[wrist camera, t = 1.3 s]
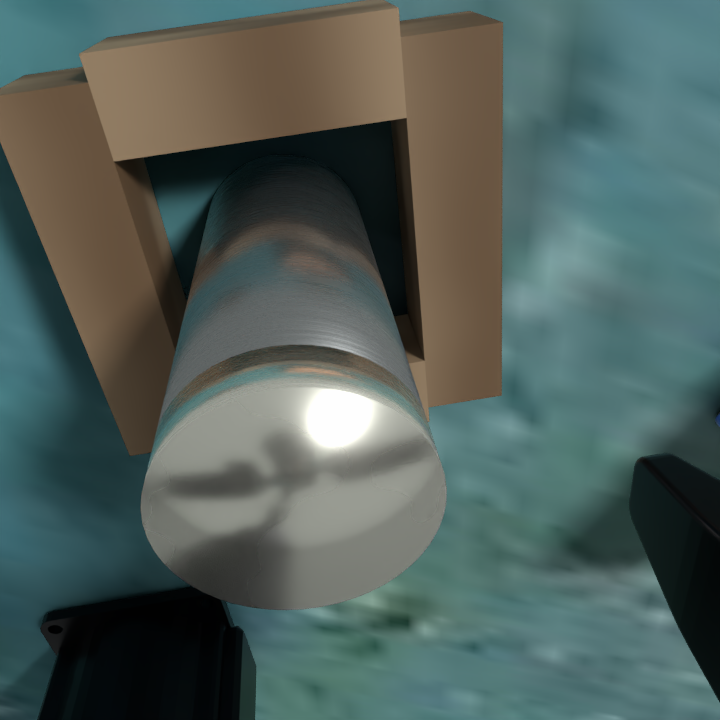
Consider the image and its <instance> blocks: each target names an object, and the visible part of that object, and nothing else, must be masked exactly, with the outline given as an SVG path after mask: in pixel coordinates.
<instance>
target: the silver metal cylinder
mask: <svg viewBox="0 0 720 720" xmlns="http://www.w3.org/2000/svg"><path fill="white" fill-rule="evenodd" d="M446 492H447V487H446V481H445V474H444V471H443V468H442V465H441V462H440V459H439V455H438V452H437V449H436V446H435V443H434V440H433V437H432V434H431V431H430V428H429V424H428V421H427V418H426V415H425V412H424V409H423V406H422V403H421V400H420V397H419V393H418V390H417V387H416V384H415V381H414V378H413V375H412V372H411V369H410V366H409V363H408V359H407V356H406V353H405V350H404V347H403V344H402V341H401V338H400V335H399V332H398V328H397V325H396V322H395V319H394V316H393V313H392V310H391V307H390V304H389V301H388V297H387V294H386V291H385V288H384V285H383V282H382V279H381V276H380V273H379V270H378V266H377V263H376V260H375V257H374V254H373V251H372V248H371V245H370V242H369V239H368V235H367V232H366V229H365V226H364V223H363V220H362V217H361V214H360V211H359V208H358V205H357V202H356V200H355V198H354V196H353V194H352V192H351V191H350V189H349V188H348V186H347V185H346V183H345V182H344V181H343V180H342V179H341V178H340V177H339V176H338V175H337V174H336V173H334V172H333V171H332V170H331V169H329V168H328V167H326V166H325V165H323V164H321V163H319V162H317V161H315V160H312V159H309V158H306V157H302V156H297V155H289V154H278V155H269V156H264V157H260V158H257V159H255V160H252V161H250V162H248V163H246V164H244V165H242V166H240V167H239V168H238V169H236V170H235V171H233V172H232V173H231V174H230V175H229V176H228V177H227V178H226V179H225V180H224V181H223V183H222V184H221V185H220V187H219V188H218V190H217V192H216V193H215V195H214V197H213V200H212V202H211V205H210V209H209V213H208V217H207V221H206V225H205V230H204V234H203V238H202V242H201V246H200V251H199V255H198V259H197V263H196V267H195V272H194V276H193V280H192V284H191V288H190V292H189V297H188V301H187V305H186V309H185V313H184V318H183V322H182V326H181V330H180V334H179V339H178V343H177V347H176V351H175V355H174V360H173V364H172V368H171V372H170V376H169V381H168V385H167V389H166V393H165V397H164V401H163V406H162V410H161V414H160V418H159V422H158V427H157V431H156V435H155V439H154V443H153V448H152V452H151V456H150V460H149V464H148V469H147V473H146V477H145V481H144V485H143V490H142V494H141V516H142V523H143V527H144V530H145V533H146V536H147V539H148V540H149V542H150V544H151V546H152V548H153V550H154V551H155V553H156V554H157V555H158V557H159V558H160V559H161V561H162V562H163V563H164V564H165V565H166V566H167V567H168V568H169V569H170V570H171V571H172V572H173V573H174V574H175V575H177V576H178V577H179V578H181V579H182V580H183V581H185V582H186V583H187V584H189V585H191V586H193V587H194V588H196V589H198V590H200V591H201V592H204V593H206V594H208V595H211V596H213V597H215V598H218V599H221V600H224V601H227V602H230V603H234V604H238V605H243V606H247V607H253V608H261V609H273V610H296V609H308V608H316V607H322V606H327V605H332V604H336V603H340V602H343V601H347V600H350V599H353V598H356V597H358V596H361V595H363V594H366V593H368V592H371V591H372V590H374V589H376V588H378V587H380V586H382V585H384V584H386V583H387V582H389V581H390V580H392V579H394V578H395V577H397V576H398V575H400V574H401V573H402V572H403V571H404V570H406V569H407V568H408V567H409V566H411V565H412V564H413V563H414V562H415V561H416V560H417V559H418V558H419V557H420V556H421V555H422V553H423V552H424V551H425V549H426V548H427V547H428V546H429V544H430V543H431V541H432V540H433V538H434V536H435V534H436V533H437V531H438V529H439V526H440V524H441V521H442V518H443V515H444V511H445V506H446Z"/></svg>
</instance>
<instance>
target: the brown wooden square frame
mask: <svg viewBox="0 0 720 720" xmlns="http://www.w3.org/2000/svg"><path fill="white" fill-rule="evenodd" d="M79 56H80V59H81V62H82V65H83V67H79V68H72V69H65V70H58V71H52V72H45V73H38V74H31V75H24V76H22V77H21V78H19V79H17V80H15V81H13V82H11V83H9V84H7V85H6V86H4V87H2V88H0V143H1V145H2V148H3V150H4V152H5V155H6V157H7V160H8V162H9V165H10V167H11V169H12V172H13V174H14V177H15V179H16V181H17V184H18V186H19V189H20V191H21V194H22V196H23V198H24V201H25V203H26V206H27V208H28V211H29V213H30V215H31V218H32V220H33V223H34V225H35V227H36V230H37V232H38V235H39V237H40V240H41V242H42V244H43V247H44V249H45V252H46V254H47V256H48V259H49V261H50V264H51V266H52V269H53V271H54V273H55V276H56V278H57V281H58V283H59V286H60V288H61V290H62V293H63V295H64V298H65V300H66V302H67V305H68V307H69V310H70V312H71V315H72V317H73V319H74V322H75V324H76V327H77V329H78V332H79V334H80V336H81V339H82V341H83V344H84V346H85V348H86V351H87V353H88V356H89V358H90V361H91V363H92V365H93V368H94V370H95V373H96V375H97V377H98V380H99V382H100V385H101V387H102V390H103V392H104V394H105V397H106V399H107V402H108V404H109V407H110V409H111V411H112V414H113V416H114V419H115V421H116V423H117V426H118V428H119V431H120V433H121V436H122V438H123V440H124V443H125V445H126V448H127V450H128V453H129V455H130V456H133V455H139V454H145V453H151V452H152V448H153V443H154V439H155V435H156V431H157V427H158V422H159V418H160V414H161V410H162V406H163V401H164V397H165V393H166V389H167V385H168V381H169V376H170V372H171V368H172V364H173V360H174V355H175V351H176V347H177V343H178V339H179V334H180V330H181V326H182V322H183V318H184V313H185V309H186V305H187V302H186V298H185V295H184V292H183V288H182V285H181V282H180V278H179V275H178V272H177V268H176V265H175V262H174V258H173V255H172V251H171V248H170V245H169V241H168V238H167V235H166V231H165V228H164V225H163V221H162V218H161V215H160V211H159V208H158V205H157V201H156V198H155V194H154V191H153V188H152V184H151V181H150V178H149V174H148V171H147V168H146V164H145V161H144V158H143V157H148V156H155V155H161V154H168V153H175V152H181V151H188V150H195V149H201V148H208V147H215V146H222V145H228V144H235V143H242V142H248V141H255V140H262V139H269V138H275V137H282V136H289V135H295V134H302V133H309V132H315V131H322V130H329V129H336V128H342V127H349V126H356V125H362V124H369V123H376V122H383V121H389V120H391V128H392V139H393V150H394V162H395V173H396V185H397V196H398V208H399V219H400V230H401V242H402V253H403V265H404V276H405V288H406V299H407V311H408V314H405V315H399V316H394V319H395V322H396V325H397V328H398V332H399V335H400V338H401V341H402V344H403V347H404V350H405V353H406V356H407V359H408V363H409V366H410V369H411V372H412V375H413V378H414V381H415V384H416V387H417V390H418V393H419V397H420V400H421V403H422V406H423V409H424V412H425V415H426V418H427V421H428V422H429V411H428V407H433V406H440V405H446V404H452V403H458V402H464V401H470V400H476V399H483V398H489V397H495V396H501V395H502V117H503V22H500V21H497V20H495V19H492V18H489V17H486V16H483V15H480V14H477V13H474V12H471V11H467V12H460V13H453V14H446V15H439V16H432V17H425V18H418V19H411V20H404V21H399V8H398V7H396V6H394V5H392V4H390V3H388V2H386V1H384V0H366V1H359V2H352V3H345V4H338V5H331V6H324V7H317V8H310V9H303V10H296V11H289V12H282V13H275V14H268V15H261V16H254V17H247V18H240V19H233V20H226V21H219V22H212V23H205V24H198V25H191V26H184V27H177V28H170V29H163V30H156V31H149V32H142V33H135V34H128V35H121V36H114V37H108V38H106V39H104V40H102V41H101V42H99V43H97V44H95V45H94V46H92V47H90V48H88V49H87V50H85V51H83V52H81V53H80V54H79Z"/></svg>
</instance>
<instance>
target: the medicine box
mask: <svg viewBox="0 0 720 720" xmlns="http://www.w3.org/2000/svg"><path fill="white" fill-rule="evenodd" d="M715 422H716V424H717V425H718V426H719V427H720V413H719V414H718V416H717V417H716V418H715Z"/></svg>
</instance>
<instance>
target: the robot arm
mask: <svg viewBox="0 0 720 720" xmlns="http://www.w3.org/2000/svg"><path fill="white" fill-rule="evenodd" d="M629 510H630V515H631V519H632V521H633V524H634V526H635V528H636V531H637V533H638V535H639V538H640V540H641V542H642V545H643V547H644V549H645V552H646V554H647V556H648V559H649V561H650V563H651V566H652V568H653V570H654V573H655V575H656V577H657V580H658V582H659V584H660V587H661V589H662V591H663V594H664V596H665V598H666V601H667V603H668V605H669V608H670V610H671V612H672V615H673V617H674V619H675V621H676V623H677V625H678V628H679V630H680V631H681V633H682V635H683V637H684V639H685V641H686V643H687V645H688V647H689V648H690V650H691V652H692V654H693V655H694V657H695V659H696V661H697V663H698V664H699V666H700V668H701V670H702V672H703V673H704V675H705V677H706V679H707V680H708V682H709V684H710V686H711V688H712V689H713V691H714V693H715V695H716V697H717V698H718V700H719V702H720V480H718V479H716V478H715V477H713V476H711V475H709V474H708V473H706V472H704V471H702V470H700V469H699V468H697V467H695V466H693V465H691V464H690V463H688V462H686V461H684V460H682V459H681V458H679V457H677V456H675V455H673V454H670V453H663V454H657V455H650V456H644V457H641V458H639V459H638V460H637V461H636V463H635V466H634V472H633V479H632V485H631V492H630V498H629ZM40 629H41V632H42V634H43V635H44V637H45V638H46V640H47V642H48V643H49V645H50V646H51V648H52V649H53V651H54V653H55V654H56V656H57V657H56V660H55V663H54V667H53V670H52V673H51V677H50V680H49V683H48V687H47V690H46V693H45V696H44V700H43V703H42V706H41V710H40V713H39V716H38V719H37V720H255V700H256V664H255V662H254V659H253V656H252V653H251V650H250V647H249V645H248V642H247V639H246V636H245V633H244V631H243V630H242V629H241V628H239V627H238V626H234V623H233V621H232V618H231V615H230V612H229V610H228V607H227V604H226V602H225V601H224V600H221V599H218V598H215V597H213V596H211V595H208V594H206V593H204V592H201V591H200V590H198V589H196V588H188V589H182V590H176V591H170V592H164V593H158V594H153V595H147V596H141V597H135V598H129V599H123V600H117V601H111V602H105V603H100V604H94V605H88V606H82V607H76V608H70V609H64V610H58V611H53V612H50V613H48V614H46V615H45V617H44V619H43V622H42V625H41V628H40Z"/></svg>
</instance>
